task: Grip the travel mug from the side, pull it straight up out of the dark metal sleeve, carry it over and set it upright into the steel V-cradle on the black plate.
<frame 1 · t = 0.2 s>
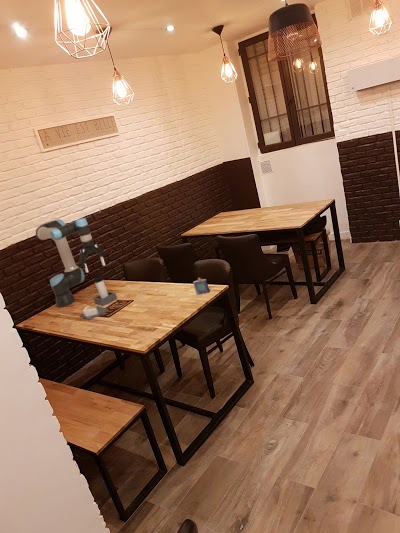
hand: (95, 268, 289), 28 cm above the table, tool pointing down, fingers open, 13 cm apart
travel mug: (106, 301, 303), resting in sleeve
sleeve: (106, 301, 303), on the table
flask: (203, 293, 265), on the table
V-cradle: (95, 312, 285), on the table
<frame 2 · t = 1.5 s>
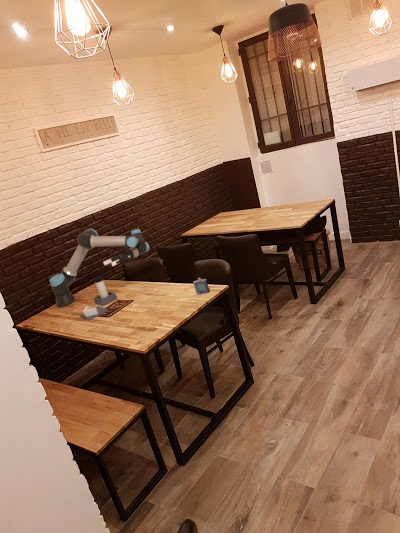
hand: (107, 264, 301), 26 cm above the table, tool horizontal, fingers open, 13 cm apart
nothing on the table moved.
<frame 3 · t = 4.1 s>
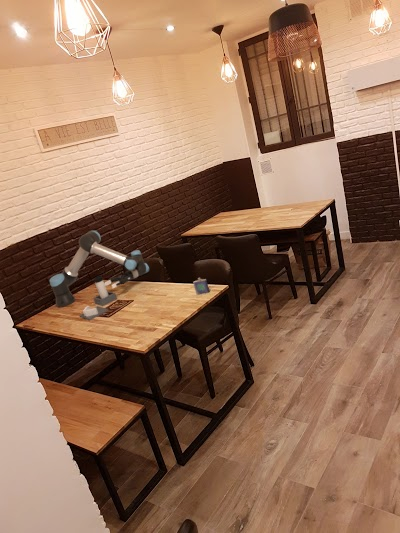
hand: (107, 285, 302), 11 cm above the table, tool horizontal, fingers open, 13 cm apart
nothing on the table moved.
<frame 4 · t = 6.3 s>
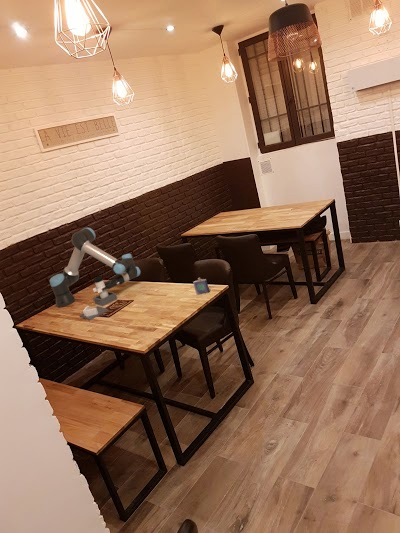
hand: (95, 290, 297), 11 cm above the table, tool horizontal, fingers closed on travel mug, 6 cm apart
travel mug: (106, 301, 303), resting in sleeve, touching gripper
everything else where it was.
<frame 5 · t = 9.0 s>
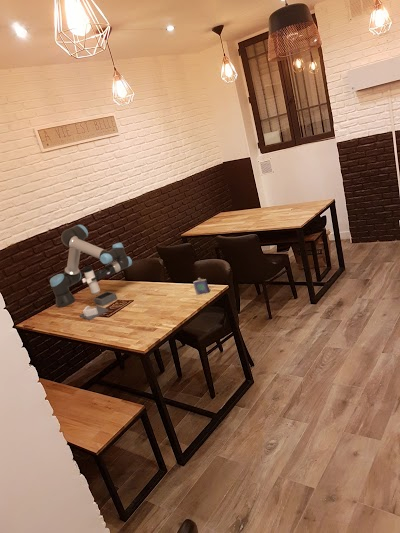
hand: (84, 281, 282), 23 cm above the table, tool horizontal, fingers closed on travel mug, 6 cm apart
travel mug: (96, 292, 289), point 12 cm above the table, touching gripper
everything else where it was.
when the fingers open (14 cm above the table, at t = 11.8 s): travel mug drops 1 cm, resting on V-cradle.
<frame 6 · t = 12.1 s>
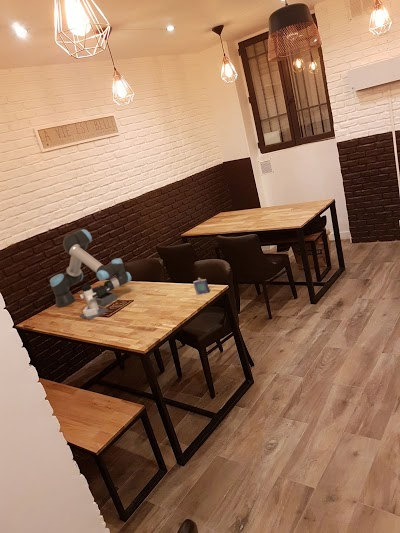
hand: (84, 297, 279), 14 cm above the table, tool horizontal, fingers open, 11 cm apart
travel mug: (95, 311, 285), point 1 cm above the table, touching V-cradle
everything else where it was.
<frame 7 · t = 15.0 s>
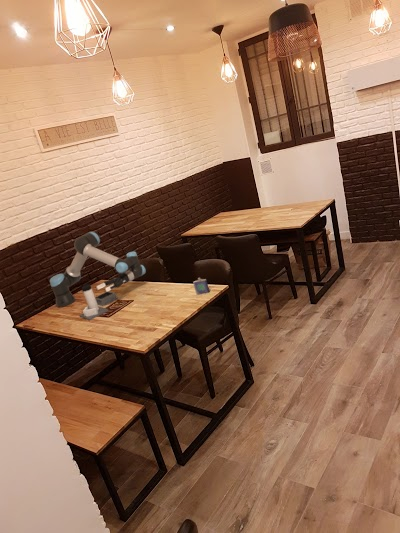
hand: (101, 289, 287), 14 cm above the table, tool horizontal, fingers open, 13 cm apart
nothing on the table moved.
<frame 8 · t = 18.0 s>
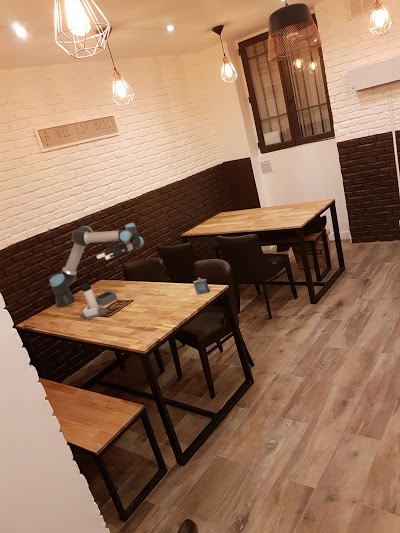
hand: (101, 257, 298), 32 cm above the table, tool horizontal, fingers open, 13 cm apart
nothing on the table moved.
at the end: travel mug 0.4 cm off-centre on the V-cradle, point 1.0 cm above the V-cradle's base; travel mug tilted 0°; the gripper is holding nothing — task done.
